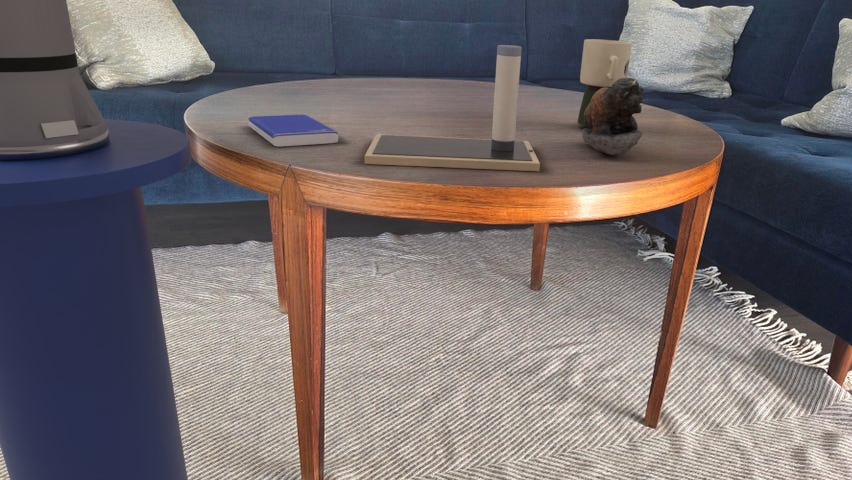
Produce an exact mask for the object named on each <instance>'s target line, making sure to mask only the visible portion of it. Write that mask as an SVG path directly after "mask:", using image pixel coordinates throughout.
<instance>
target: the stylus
mask: <svg viewBox="0 0 852 480" xmlns="http://www.w3.org/2000/svg"><path fill="white" fill-rule="evenodd" d="M522 48H523V47H522V46H520V45H513V44H511V45H510V44H498V45H497V47H496V63H495V79H494V97H493V111H492V130H491V139H492V143H491V149H492V150H495V151H501V152H509V151H513V150H514V142H515V141H516V140H515V139H516V126H517V114H518V101H519V87H520V76H521V61H522Z"/></svg>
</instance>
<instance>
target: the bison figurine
mask: <svg viewBox="0 0 852 480" xmlns="http://www.w3.org/2000/svg"><path fill="white" fill-rule="evenodd" d="M643 92H644V87H642V86H640V83H639V81H638V80H637V79H635V78H632V77H627V78H620V79H618V80H617V81H616V82H614V83H613V84H612V86H611V88H607V87H604V88H601V89H600V90H598V91H597V92H596V93H595V94H594V95H593V96H592V99H591V101H590V103H589V105H588V107H587V108H586V109H585V112H584V124H585V125H584V126H585V127H584V128H583V129H581V136H582V137H581V138H582V139H583V141H584V143H586V144H587V145H589V146H590V147H592V148H593V149H594V150H595V151H597V152H600V153H603V154H606V155H609V156H619V155H623V154H625V153H627V152H628V151H630V150H631V149H632V148H633V147H634V146H636V145H638V143H639V141H640V139H641V138H642V136H643V132H642V131H641V130H638V127H639V125H638V122H637V120H636V118H635V117H634V116H633V115H634V114H641V113H642V105H641V103H642V102H643V101H644V97H643Z"/></svg>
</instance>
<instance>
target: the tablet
mask: <svg viewBox="0 0 852 480" xmlns="http://www.w3.org/2000/svg"><path fill="white" fill-rule="evenodd" d="M491 143H492V138H471V137H469V138H468V137H451V136H450V137H446V136H425V135H407V134H405V135H404V134H382V133H381V134H380V133H376V134H375V135H374V138H373V139H372V141H371V143H370V145H369V146H368V148H367V150H366V152H365V154H364V165H379V166H380V165H381V166H399V167H400V166H402V167H404V166H405V167H424V168H425V167H426V168H449V169H468V170H469V169H473V170H493V171H494V170H496V171H517V172H540V169H541V162H540V161H539V159H538V157H537V155H536V153H535V151H534V149H533V147H532V145H531V143H530V141H529V140H515V142H514V150H513V151H509V152H501V151H495V150H492V149H491Z"/></svg>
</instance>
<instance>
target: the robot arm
mask: <svg viewBox="0 0 852 480" xmlns="http://www.w3.org/2000/svg"><path fill="white" fill-rule="evenodd" d="M104 119H105V118H104V117H103V114H102V113H101V111H100V109H99V107H98V106H97V104H96V102H95V100H94V98H93V96H92V94H91V93H90V91H89V89H88V87H87V85H86V83H85V81H84V79H83V77H82V76H81V73H80V69H79V64H78V59H77V52H76V47H75V41H74V36H73V29H72V24H71V20H70V13H69V7H68V1H67V0H0V161H31V160H44V159H53V158H61V157H68V156H74V155H79V154H84V153H88V152H92V151H95V150H98V149H101V148H103V147H105V146H107V145H108V144H109V143H110V138H109V132H108V128H107V125H106V122H105V120H104Z"/></svg>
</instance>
